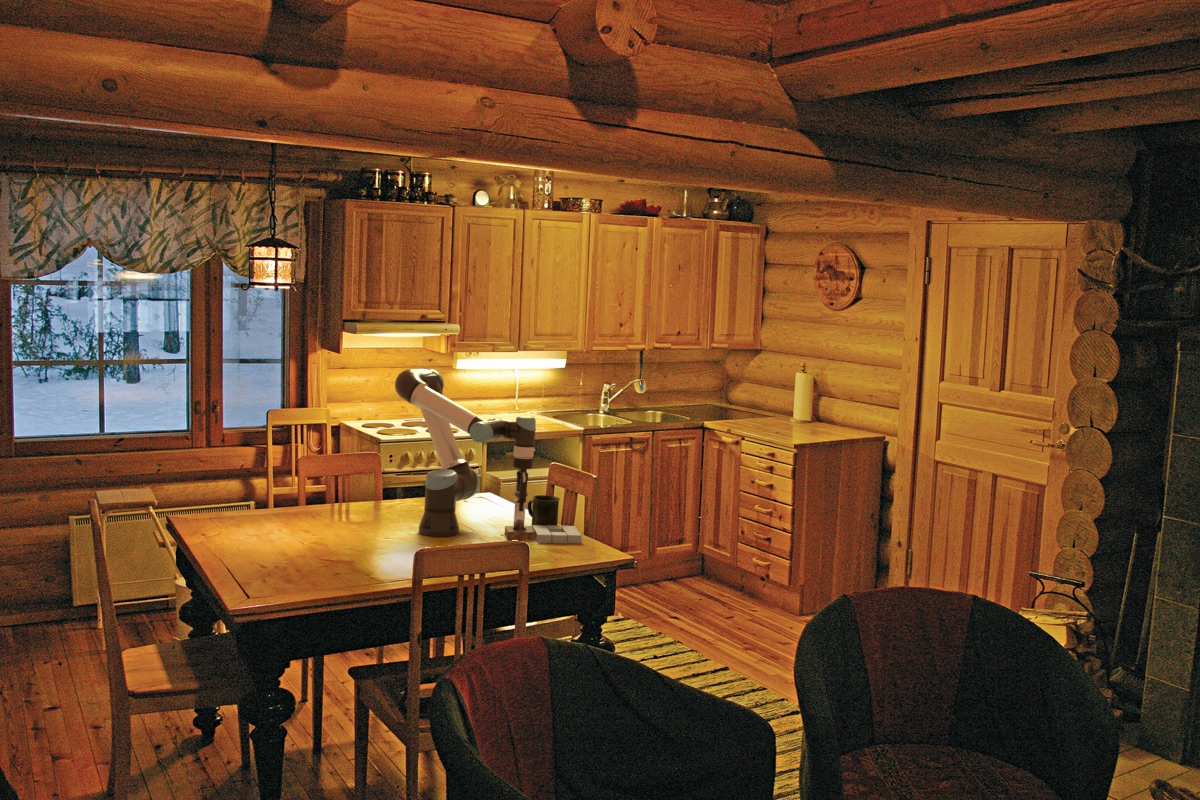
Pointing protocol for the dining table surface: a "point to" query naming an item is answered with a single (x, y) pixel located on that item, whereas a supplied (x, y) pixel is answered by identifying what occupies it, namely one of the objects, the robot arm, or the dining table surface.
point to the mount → (519, 533)
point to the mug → (544, 510)
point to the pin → (517, 523)
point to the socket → (556, 534)
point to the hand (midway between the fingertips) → (519, 517)
